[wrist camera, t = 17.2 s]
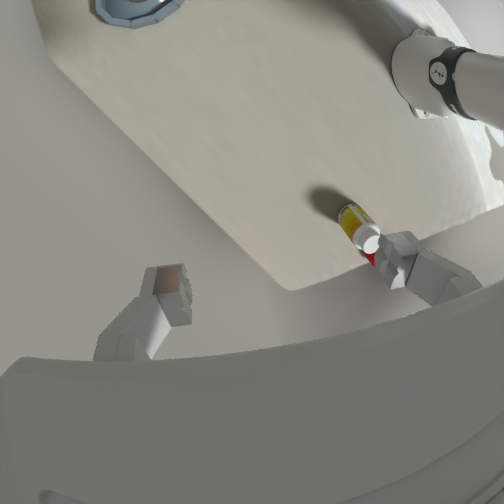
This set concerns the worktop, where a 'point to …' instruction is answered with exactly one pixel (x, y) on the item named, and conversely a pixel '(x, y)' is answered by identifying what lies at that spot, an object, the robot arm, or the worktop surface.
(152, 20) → the dish
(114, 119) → the worktop surface
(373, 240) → the supplement bottle
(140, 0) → the peach tapered cylinder
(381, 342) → the robot arm
